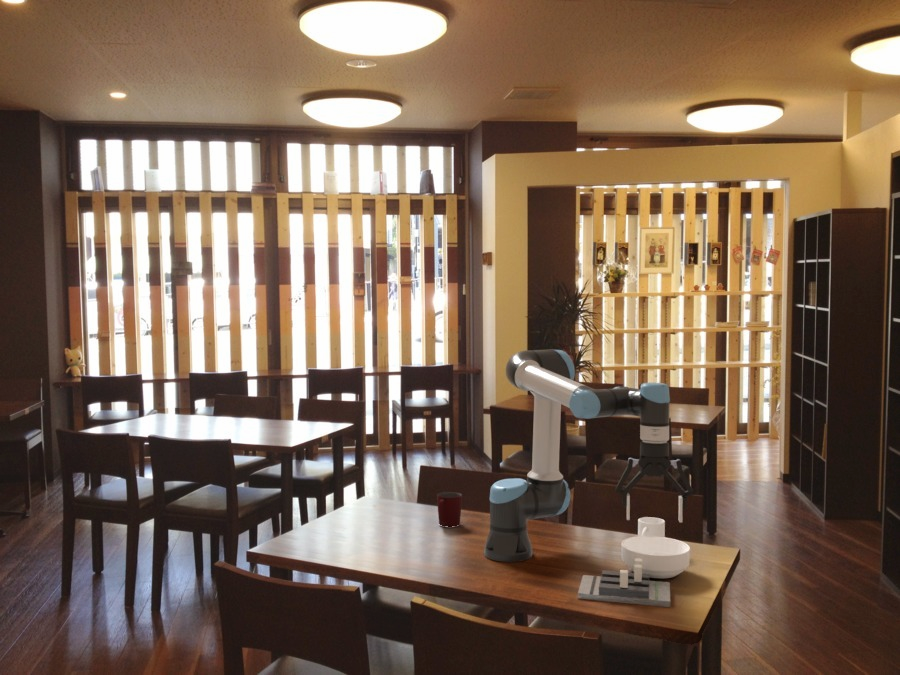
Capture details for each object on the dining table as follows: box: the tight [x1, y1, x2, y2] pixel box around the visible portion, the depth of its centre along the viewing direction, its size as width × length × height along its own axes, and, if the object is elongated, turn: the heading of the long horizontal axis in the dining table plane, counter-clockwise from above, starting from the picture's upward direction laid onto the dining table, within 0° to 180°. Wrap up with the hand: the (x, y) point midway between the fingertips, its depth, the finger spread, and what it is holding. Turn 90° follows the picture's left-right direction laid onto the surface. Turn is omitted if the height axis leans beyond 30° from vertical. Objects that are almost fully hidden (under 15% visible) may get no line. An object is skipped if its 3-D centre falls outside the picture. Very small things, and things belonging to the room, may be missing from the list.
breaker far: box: [635, 558, 642, 565], centre depth 224 cm, size 2×2×4 cm
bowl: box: [620, 535, 691, 579], centre depth 236 cm, size 20×20×8 cm
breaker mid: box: [633, 564, 642, 582], centre depth 219 cm, size 2×2×4 cm
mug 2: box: [637, 516, 666, 537], centre depth 255 cm, size 12×8×10 cm
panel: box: [577, 569, 671, 608], centre depth 220 cm, size 24×15×4 cm, turn 75°
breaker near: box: [619, 569, 629, 588], centre depth 214 cm, size 2×2×4 cm
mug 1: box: [436, 491, 463, 527], centre depth 286 cm, size 12×9×11 cm
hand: (654, 520), depth 214 cm, fingers open, 13 cm apart
